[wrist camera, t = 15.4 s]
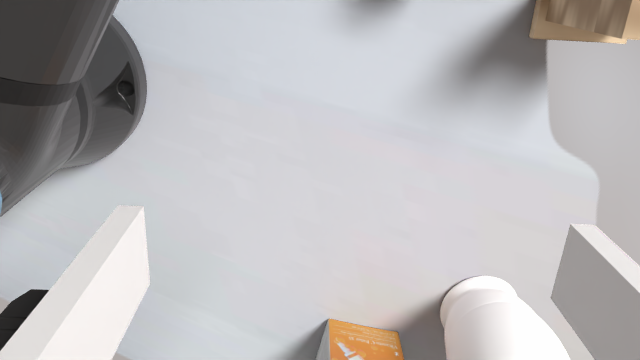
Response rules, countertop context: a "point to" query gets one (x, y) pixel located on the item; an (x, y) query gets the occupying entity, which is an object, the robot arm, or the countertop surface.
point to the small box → (358, 343)
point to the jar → (494, 324)
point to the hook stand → (586, 20)
